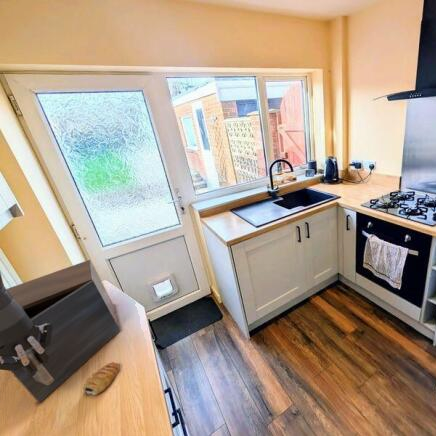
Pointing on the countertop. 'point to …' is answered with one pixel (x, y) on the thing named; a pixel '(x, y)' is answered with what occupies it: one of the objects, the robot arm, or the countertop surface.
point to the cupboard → (58, 288)
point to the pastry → (101, 379)
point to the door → (68, 339)
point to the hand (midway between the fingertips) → (39, 366)
